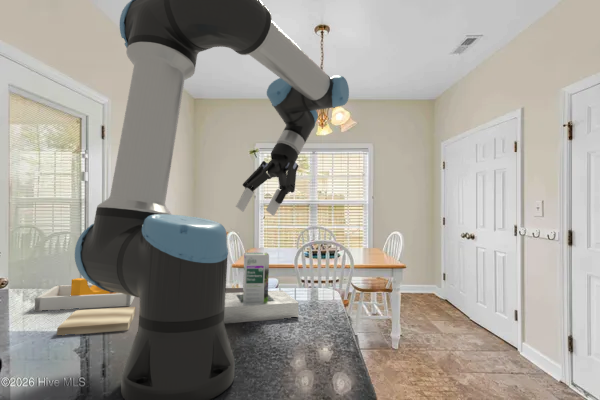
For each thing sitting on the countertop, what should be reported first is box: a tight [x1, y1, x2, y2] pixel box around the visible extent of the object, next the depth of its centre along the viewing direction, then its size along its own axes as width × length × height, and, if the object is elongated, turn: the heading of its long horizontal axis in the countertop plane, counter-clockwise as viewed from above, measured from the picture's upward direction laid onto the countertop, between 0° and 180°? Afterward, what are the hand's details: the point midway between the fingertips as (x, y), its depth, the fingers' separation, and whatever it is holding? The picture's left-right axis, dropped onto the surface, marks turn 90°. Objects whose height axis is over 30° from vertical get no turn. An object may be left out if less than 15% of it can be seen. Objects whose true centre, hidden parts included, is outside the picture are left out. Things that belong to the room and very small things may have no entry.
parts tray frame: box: [33, 283, 136, 312], centre depth 88 cm, size 14×20×3 cm
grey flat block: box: [224, 289, 300, 325], centre depth 82 cm, size 13×18×4 cm
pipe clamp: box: [70, 277, 116, 296], centre depth 88 cm, size 12×4×6 cm, turn 169°
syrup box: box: [242, 251, 270, 303], centre depth 82 cm, size 6×6×14 cm
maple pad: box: [56, 306, 136, 336], centre depth 71 cm, size 12×12×2 cm
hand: (253, 211), depth 92 cm, fingers open, 13 cm apart
